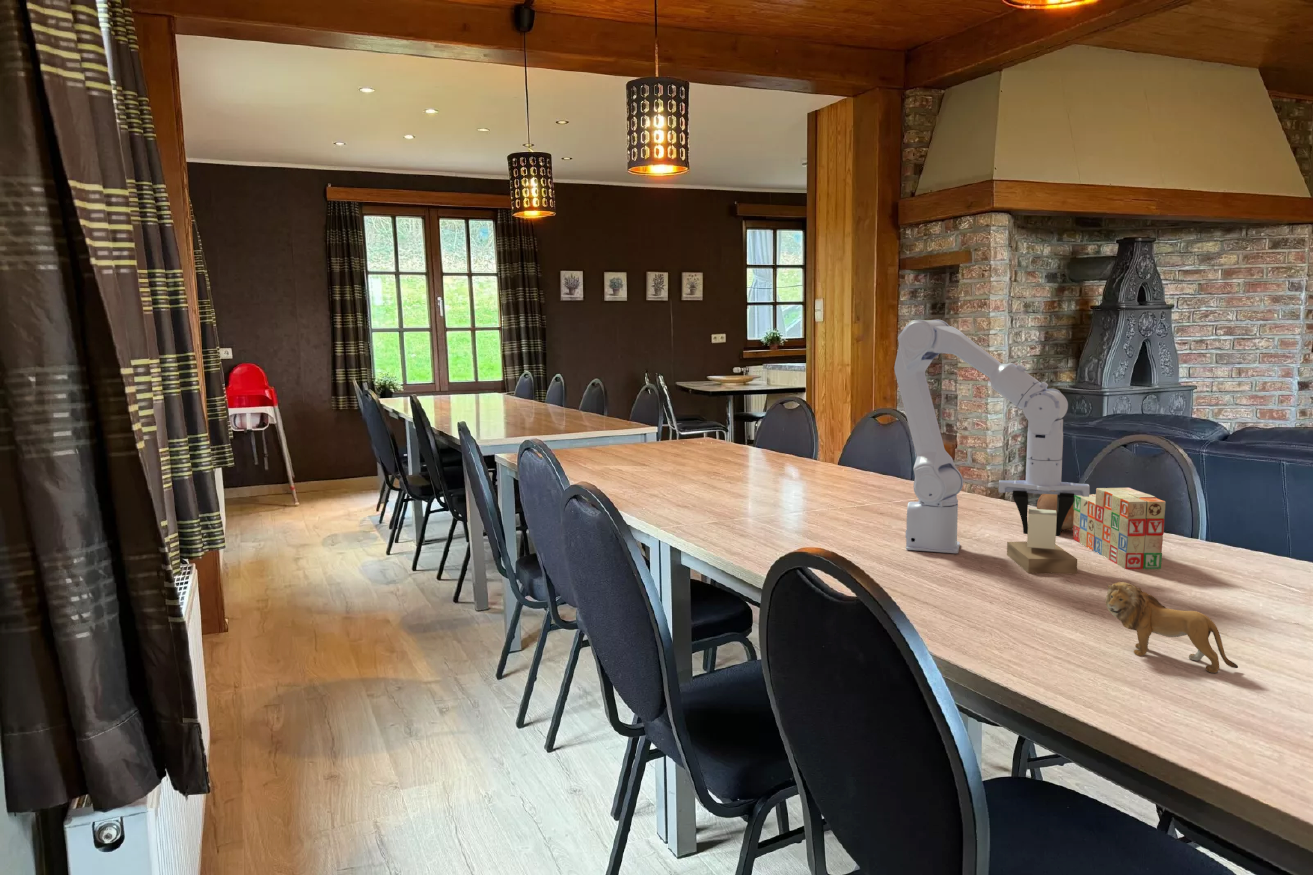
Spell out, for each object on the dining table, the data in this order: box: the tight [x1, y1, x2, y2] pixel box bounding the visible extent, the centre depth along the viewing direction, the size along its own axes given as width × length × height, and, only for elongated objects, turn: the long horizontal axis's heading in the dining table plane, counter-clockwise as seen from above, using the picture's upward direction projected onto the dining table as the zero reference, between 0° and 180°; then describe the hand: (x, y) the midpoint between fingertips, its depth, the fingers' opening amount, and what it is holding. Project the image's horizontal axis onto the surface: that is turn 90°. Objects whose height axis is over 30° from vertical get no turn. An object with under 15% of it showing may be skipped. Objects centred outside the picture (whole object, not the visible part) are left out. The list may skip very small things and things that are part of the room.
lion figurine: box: [1105, 581, 1239, 674], centre depth 105 cm, size 15×5×9 cm, turn 51°
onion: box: [1036, 490, 1074, 531], centre depth 172 cm, size 10×9×10 cm
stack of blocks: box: [1072, 487, 1166, 570], centre depth 154 cm, size 21×6×12 cm, turn 177°
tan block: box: [1006, 541, 1078, 575], centre depth 149 cm, size 8×12×3 cm, turn 174°
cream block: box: [1026, 508, 1057, 549], centre depth 148 cm, size 4×4×6 cm
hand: (1041, 533), depth 148 cm, fingers closed on cream block, 5 cm apart
